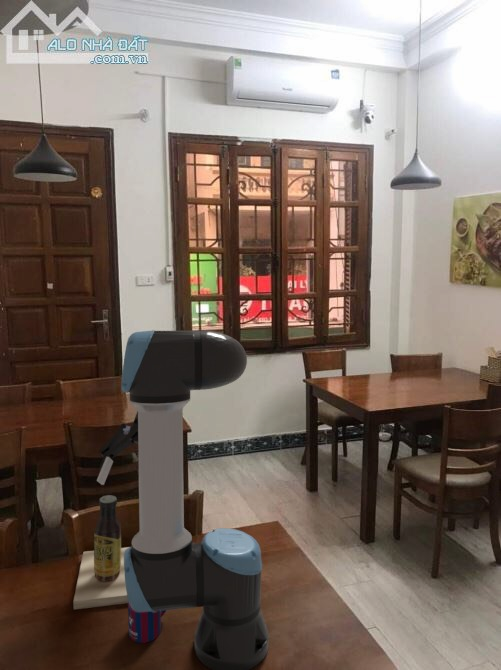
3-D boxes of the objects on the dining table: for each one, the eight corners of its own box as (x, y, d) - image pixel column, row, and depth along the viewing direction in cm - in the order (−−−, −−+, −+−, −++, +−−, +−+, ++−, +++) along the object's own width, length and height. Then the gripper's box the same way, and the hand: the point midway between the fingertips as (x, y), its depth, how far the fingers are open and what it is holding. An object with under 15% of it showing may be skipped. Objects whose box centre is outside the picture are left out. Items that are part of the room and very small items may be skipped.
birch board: (137, 601, 118) (137, 593, 118) (73, 609, 115) (73, 601, 115) (138, 553, 137) (138, 546, 137) (83, 558, 134) (83, 551, 134)
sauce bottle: (88, 580, 123) (86, 501, 120) (104, 565, 128) (102, 490, 125) (112, 586, 120) (109, 506, 117) (127, 571, 126) (125, 495, 123)
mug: (122, 631, 109) (121, 601, 108) (162, 609, 116) (161, 581, 115) (139, 648, 104) (139, 617, 103) (179, 624, 111) (179, 595, 110)
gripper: (197, 423, 140) (173, 499, 128) (117, 414, 147) (87, 485, 136) (189, 410, 134) (163, 488, 122) (106, 401, 142) (74, 473, 130)
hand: (123, 486), depth 129 cm, fingers open, 13 cm apart
